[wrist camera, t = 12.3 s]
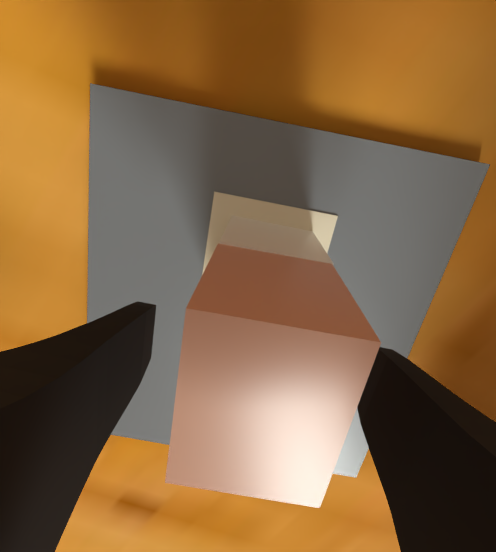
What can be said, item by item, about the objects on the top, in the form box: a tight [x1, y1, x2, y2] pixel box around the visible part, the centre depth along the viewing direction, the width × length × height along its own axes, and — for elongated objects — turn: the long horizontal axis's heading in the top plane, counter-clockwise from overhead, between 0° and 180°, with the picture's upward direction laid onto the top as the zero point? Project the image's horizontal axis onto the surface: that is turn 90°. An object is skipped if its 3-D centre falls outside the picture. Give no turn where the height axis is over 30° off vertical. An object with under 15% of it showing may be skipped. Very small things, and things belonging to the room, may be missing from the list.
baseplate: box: [87, 83, 490, 477], centre depth 18 cm, size 18×20×1 cm
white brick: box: [219, 215, 333, 264], centre depth 14 cm, size 4×5×5 cm
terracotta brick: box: [165, 244, 381, 508], centre depth 10 cm, size 4×5×5 cm
